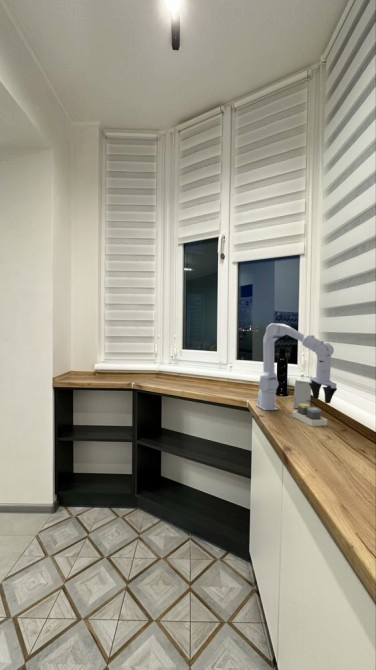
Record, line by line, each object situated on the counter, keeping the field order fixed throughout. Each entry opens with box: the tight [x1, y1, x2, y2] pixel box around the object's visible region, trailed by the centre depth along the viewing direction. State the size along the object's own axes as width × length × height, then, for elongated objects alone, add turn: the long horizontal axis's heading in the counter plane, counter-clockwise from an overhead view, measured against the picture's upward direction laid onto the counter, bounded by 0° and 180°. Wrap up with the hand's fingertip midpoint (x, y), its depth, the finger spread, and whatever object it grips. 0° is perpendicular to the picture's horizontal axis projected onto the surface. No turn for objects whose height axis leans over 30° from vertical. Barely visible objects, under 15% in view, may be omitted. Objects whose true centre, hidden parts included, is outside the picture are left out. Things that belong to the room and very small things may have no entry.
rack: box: [291, 410, 328, 427], centre depth 137 cm, size 14×8×2 cm, turn 15°
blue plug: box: [307, 406, 322, 420], centre depth 133 cm, size 4×4×6 cm
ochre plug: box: [297, 403, 312, 415], centre depth 140 cm, size 4×4×6 cm
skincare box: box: [292, 378, 312, 410], centre depth 157 cm, size 8×6×15 cm
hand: (321, 400), depth 134 cm, fingers open, 7 cm apart
